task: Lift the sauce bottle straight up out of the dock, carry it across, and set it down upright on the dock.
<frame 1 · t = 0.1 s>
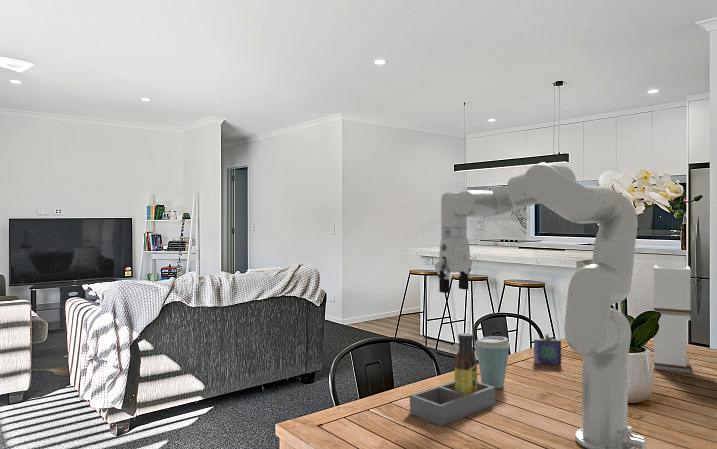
hand: (454, 290, 155), 31 cm above the table, tool pointing down, fingers open, 9 cm apart
white square tower: (671, 367, 182), on the table
sauce bottle: (466, 405, 147), resting in dock
disposable coffee cup: (492, 385, 163), on the table
dock: (453, 409, 143), on the table
flask: (547, 364, 186), on the table
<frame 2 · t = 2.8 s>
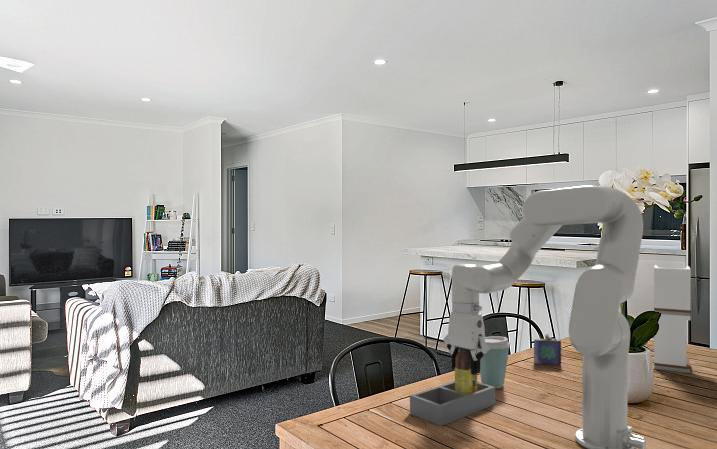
hand: (465, 370, 147), 10 cm above the table, tool pointing down, fingers closed on sauce bottle, 6 cm apart
sauce bottle: (466, 405, 147), resting in dock, touching gripper
everything else where it was.
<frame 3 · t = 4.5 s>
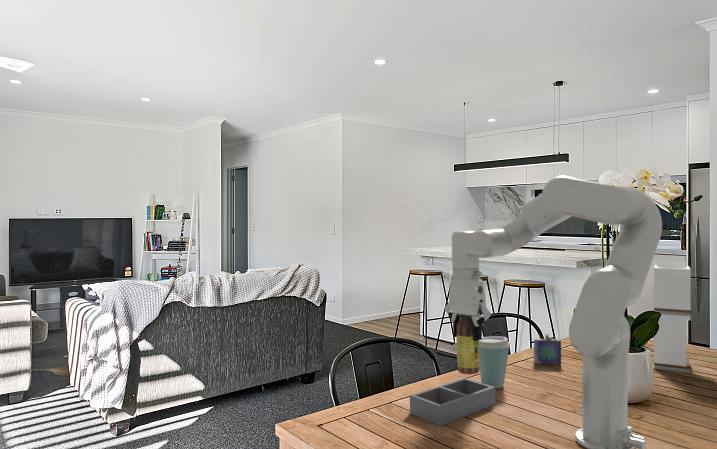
hand: (467, 337, 146), 19 cm above the table, tool pointing down, fingers closed on sauce bottle, 6 cm apart
sauce bottle: (468, 372, 146), point 9 cm above the table, touching gripper
everything else where it was.
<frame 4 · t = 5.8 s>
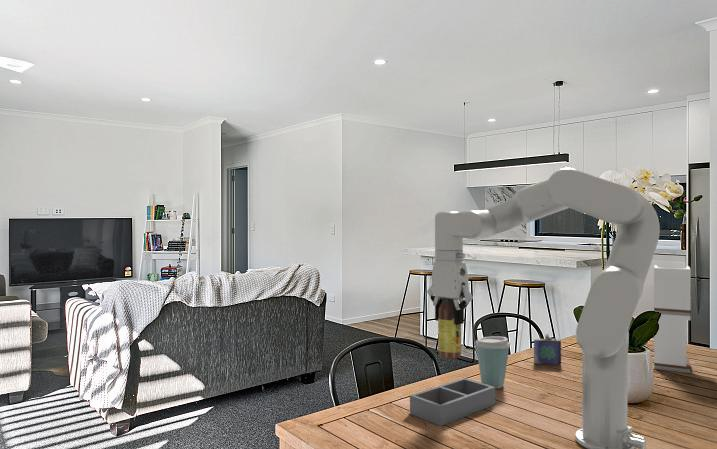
hand: (449, 321, 142), 25 cm above the table, tool pointing down, fingers closed on sauce bottle, 6 cm apart
sauce bottle: (449, 357, 142), point 15 cm above the table, touching gripper
everything else where it was.
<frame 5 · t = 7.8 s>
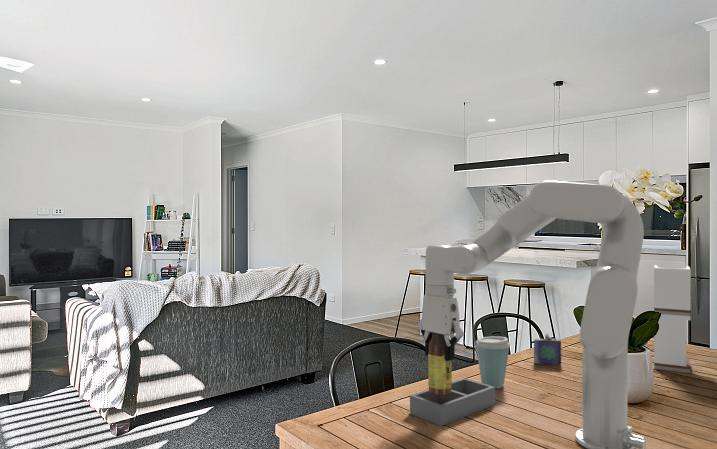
hand: (439, 356, 140), 16 cm above the table, tool pointing down, fingers closed on sauce bottle, 6 cm apart
sauce bottle: (439, 393, 140), point 6 cm above the table, touching gripper
everything else where it was.
when the fingers open (11 cm above the table, at t = 9.1 s): sauce bottle drops 1 cm, resting on dock.
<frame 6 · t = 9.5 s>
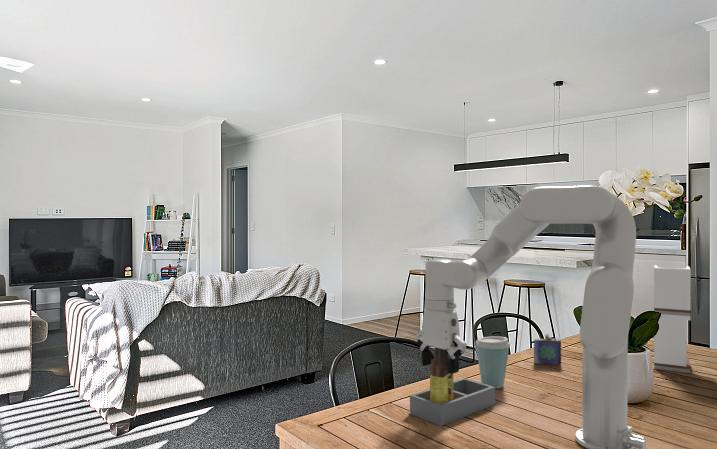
hand: (439, 368, 140), 12 cm above the table, tool pointing down, fingers open, 9 cm apart
sauce bottle: (441, 413, 140), resting on dock
everything else where it was.
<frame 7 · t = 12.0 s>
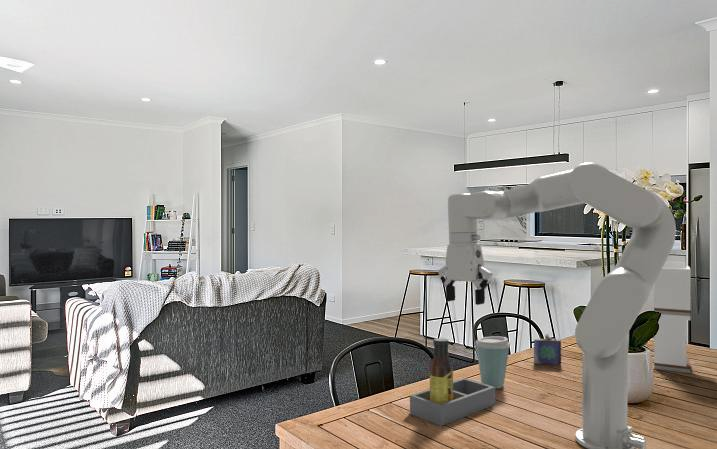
hand: (465, 302, 140), 30 cm above the table, tool pointing down, fingers open, 9 cm apart
nothing on the table moved.
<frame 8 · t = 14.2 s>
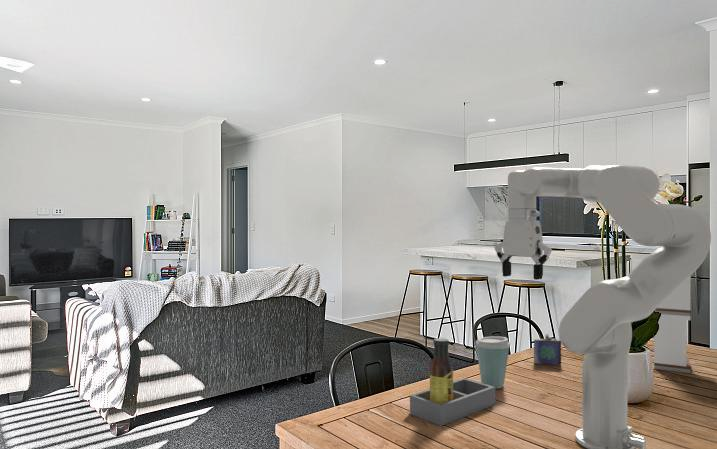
hand: (522, 277, 143), 36 cm above the table, tool pointing down, fingers open, 9 cm apart
nothing on the table moved.
at the end: sauce bottle 0.4 cm from the target spot on the dock, point 0.1 cm above the dock's base; sauce bottle tilted 0°; the gripper is holding nothing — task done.
